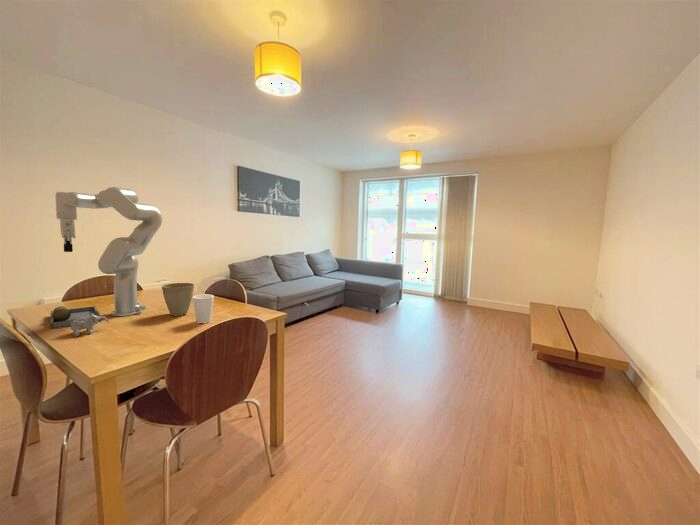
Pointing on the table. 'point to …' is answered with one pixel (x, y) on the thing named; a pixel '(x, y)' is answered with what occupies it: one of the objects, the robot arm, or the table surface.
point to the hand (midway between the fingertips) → (68, 251)
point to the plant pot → (178, 297)
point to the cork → (61, 314)
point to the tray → (74, 316)
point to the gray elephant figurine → (85, 323)
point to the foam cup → (203, 307)
